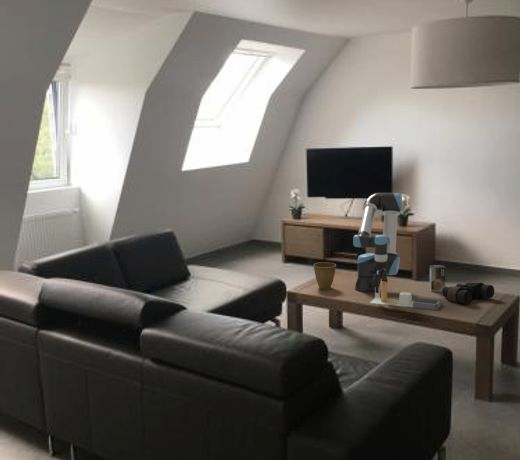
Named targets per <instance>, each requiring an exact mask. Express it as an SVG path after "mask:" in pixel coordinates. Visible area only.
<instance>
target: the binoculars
mask: <svg viewBox="0 0 520 460" xmlns="http://www.w3.org/2000/svg"><path fill="white" fill-rule="evenodd" d="M441 295H442V297H444V298H446V300H447V301H449V302H453V303H456V304H464V305H469V304H471V303H472V301H473V299H476V300H481V299H484V298H485V299H491V298H493V297H494V295H495V287H494V286H493V285H492V284H485V283H483V282H475V281H474V282H473V281H469V282H466V283H465V284H462V283H457V284H456V285H455V286H445V287H444V288H443V289H442V292H441Z"/></svg>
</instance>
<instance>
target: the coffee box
mask: <svg viewBox="0 0 520 460" xmlns="http://www.w3.org/2000/svg"><path fill="white" fill-rule="evenodd" d="M444 287H446V266H445V265H443V264H438V265H436V264H435V265H434V264H433V265H429V288H428V289H429V291H430V292H431V293H435V292H436V293H437V292H440V293H442V289H443V288H444Z"/></svg>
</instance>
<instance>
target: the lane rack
mask: <svg viewBox="0 0 520 460" xmlns="http://www.w3.org/2000/svg"><path fill="white" fill-rule="evenodd" d="M369 304H370V305H371V304H372V305H376V304H377V305H378V304H380V305H387V306H398V307H405V308H415V309H422V310H423V309H425V310H433V311H438V310H439V308H440V307H441V306H442V299H438V298H427V297H426V298H425V297H416V301H412V303H411V304H410V305H401V304H399V302H395V301H387V302H381V297H380V298H375V297H374V299H372V300H371V301H369Z"/></svg>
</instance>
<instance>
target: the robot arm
mask: <svg viewBox="0 0 520 460" xmlns="http://www.w3.org/2000/svg"><path fill="white" fill-rule="evenodd" d="M402 198H403V197H402V194H401V193H400V192H375V193H373V194H371V195H370V196H368V197H367V198H366V200H365V201H364V202H363V205H362V211H363V212H362V215H361V216H362V217H361V221H360V225H359V229H358V234H354V235H353V239H352V243H353V247H355V248H371V249H373V248H374V252H373V253H372V252H369V253H363V254H360V255H358V257H357V278H356V281H355V284H354V290H355V291H359V292H365V293H369V292H370V293H371V292H374V298H381V282H382V281H386V282H387V283H388V276H393V275H397V274H398V272H399V269H400V263H401V258H400V257H399V254H398V253H397V252H396V249H397V233H398V232H397V231H398V230H397V229H398V216H399V215H400V214H401V212H403V209H404V208H403V207H404V206H403V204H404V203H403V199H402ZM378 211H381V213H382V214H383V216H384V217H383V229H382V230H383V231H382V234H377V235H372V229H373V225H374V219H375V217H376V216H375V215H376V214H377V212H378Z"/></svg>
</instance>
